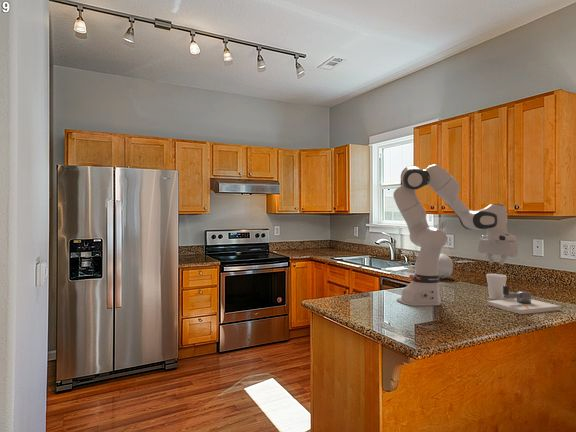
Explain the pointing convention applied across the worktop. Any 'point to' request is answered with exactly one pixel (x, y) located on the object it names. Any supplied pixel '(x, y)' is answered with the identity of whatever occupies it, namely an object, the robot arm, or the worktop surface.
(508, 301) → the stand
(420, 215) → the robot arm
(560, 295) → the worktop surface
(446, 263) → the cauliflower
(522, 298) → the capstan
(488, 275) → the foam cup
